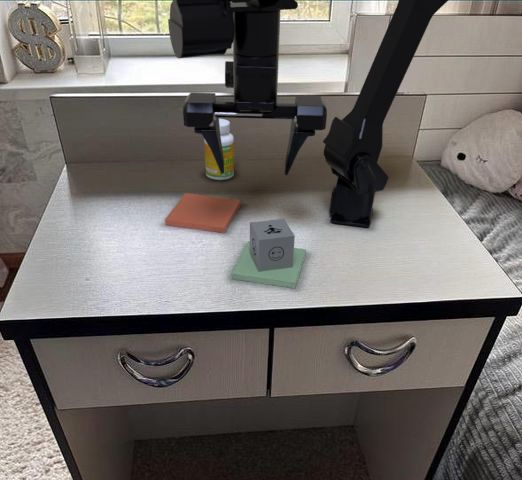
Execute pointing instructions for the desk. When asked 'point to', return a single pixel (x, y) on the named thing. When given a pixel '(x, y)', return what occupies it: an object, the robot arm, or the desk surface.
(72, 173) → the desk surface
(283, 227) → the dice cube
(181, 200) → the terracotta mat
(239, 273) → the green mat
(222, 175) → the supplement bottle
